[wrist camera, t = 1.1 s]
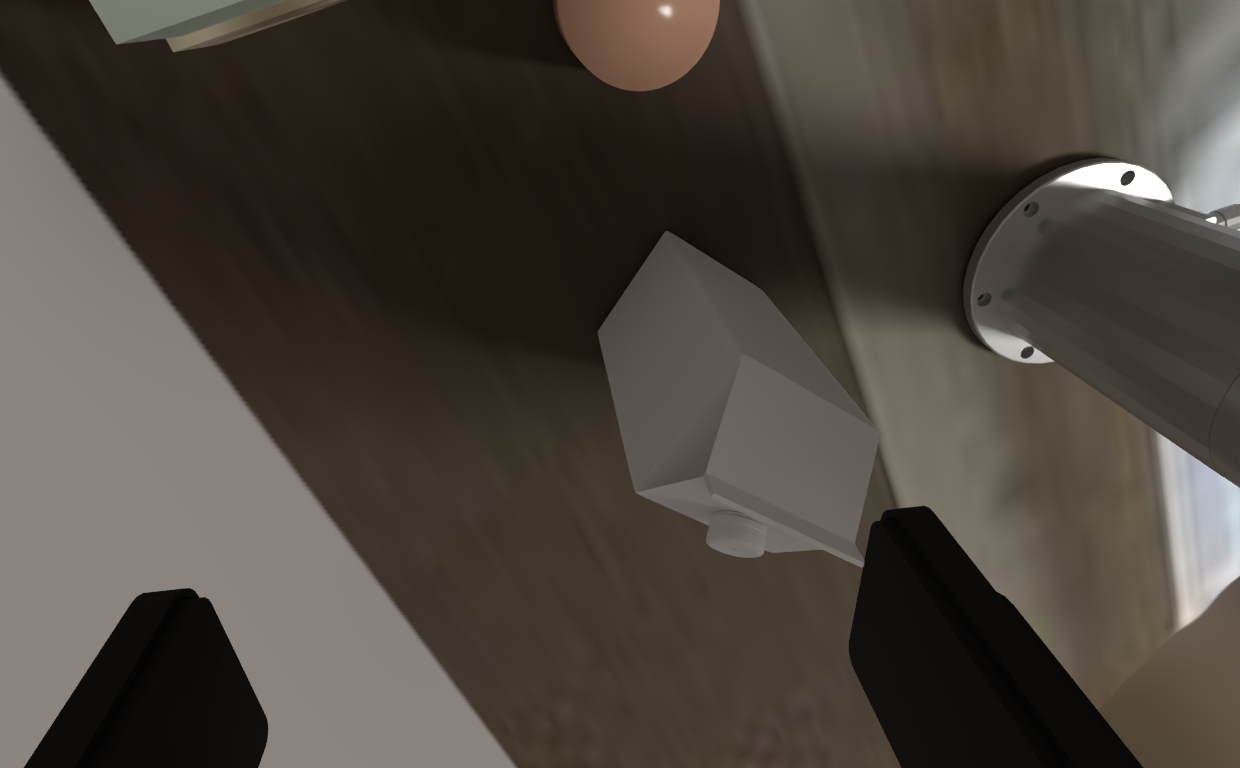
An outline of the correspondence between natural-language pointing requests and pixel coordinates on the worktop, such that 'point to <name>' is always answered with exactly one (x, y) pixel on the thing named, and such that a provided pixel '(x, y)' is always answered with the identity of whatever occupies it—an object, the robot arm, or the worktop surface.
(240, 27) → the birch block
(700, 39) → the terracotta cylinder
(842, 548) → the milk carton
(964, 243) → the worktop surface
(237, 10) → the sage block
